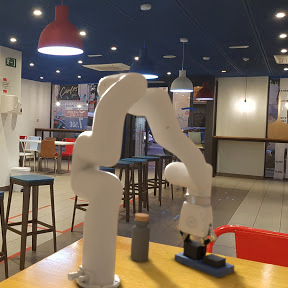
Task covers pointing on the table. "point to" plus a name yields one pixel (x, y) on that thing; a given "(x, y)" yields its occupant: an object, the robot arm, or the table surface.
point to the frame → (204, 265)
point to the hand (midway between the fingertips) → (194, 253)
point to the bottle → (140, 238)
